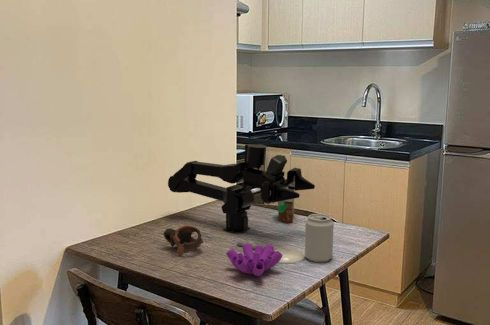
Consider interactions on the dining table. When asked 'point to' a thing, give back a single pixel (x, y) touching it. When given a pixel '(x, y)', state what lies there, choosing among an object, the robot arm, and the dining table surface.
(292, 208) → the food container
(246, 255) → the purple tube coral sculpture
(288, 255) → the disc
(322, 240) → the can
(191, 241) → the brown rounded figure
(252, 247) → the thin grey rod
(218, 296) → the dining table surface
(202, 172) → the robot arm
